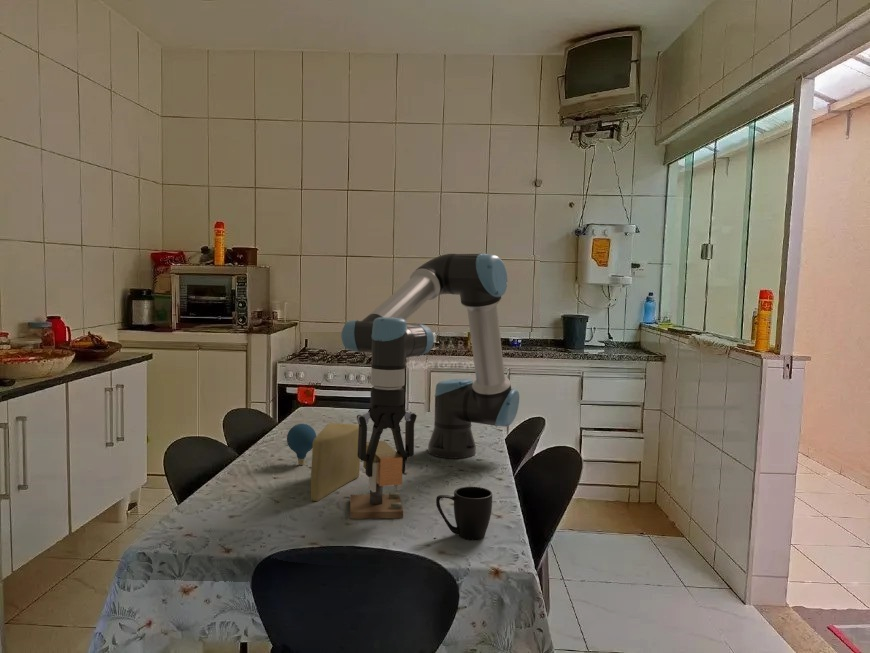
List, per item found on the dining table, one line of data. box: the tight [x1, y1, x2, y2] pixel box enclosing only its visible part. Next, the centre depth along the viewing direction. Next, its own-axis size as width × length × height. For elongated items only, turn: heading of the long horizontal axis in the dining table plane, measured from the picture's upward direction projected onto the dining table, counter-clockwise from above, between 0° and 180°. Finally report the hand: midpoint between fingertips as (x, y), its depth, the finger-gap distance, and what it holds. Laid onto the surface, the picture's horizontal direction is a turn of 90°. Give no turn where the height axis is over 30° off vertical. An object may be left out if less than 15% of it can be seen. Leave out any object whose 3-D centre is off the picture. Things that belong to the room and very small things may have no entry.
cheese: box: [310, 422, 361, 502], centre depth 169 cm, size 22×10×15 cm, turn 169°
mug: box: [435, 486, 493, 542], centre depth 141 cm, size 8×12×10 cm
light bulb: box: [286, 423, 317, 466], centre depth 189 cm, size 8×8×12 cm
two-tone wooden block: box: [362, 440, 403, 487], centre depth 150 cm, size 15×5×9 cm, turn 20°
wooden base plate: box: [349, 484, 404, 520], centre depth 155 cm, size 12×12×6 cm
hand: (385, 488), depth 148 cm, fingers closed on two-tone wooden block, 5 cm apart
